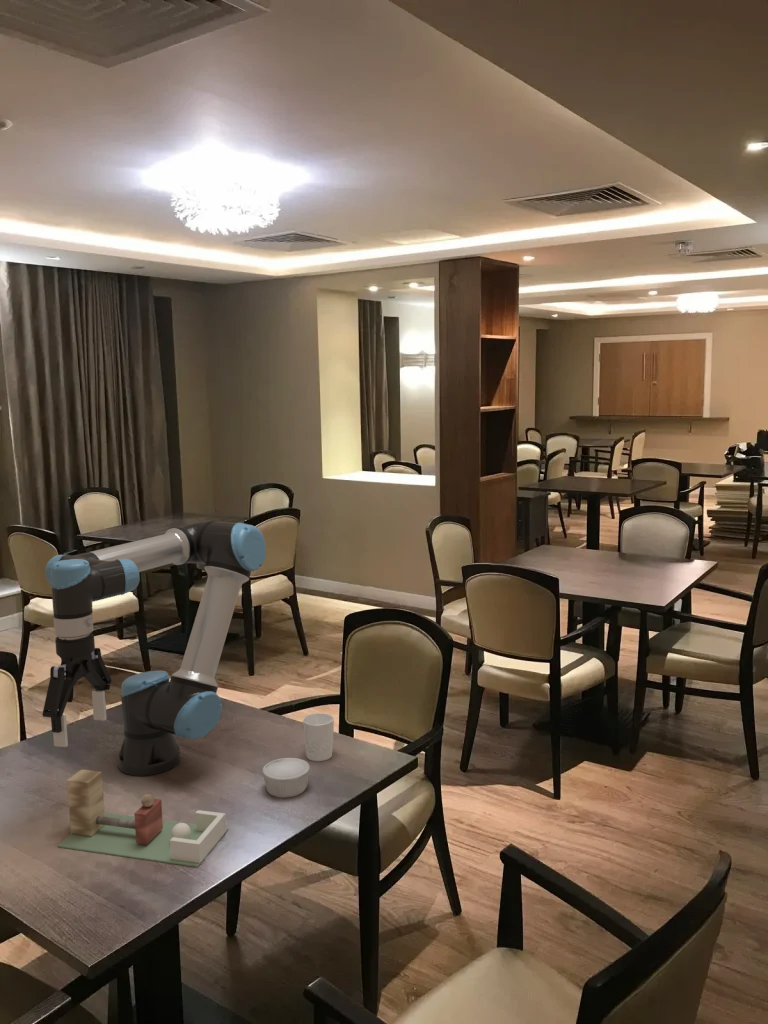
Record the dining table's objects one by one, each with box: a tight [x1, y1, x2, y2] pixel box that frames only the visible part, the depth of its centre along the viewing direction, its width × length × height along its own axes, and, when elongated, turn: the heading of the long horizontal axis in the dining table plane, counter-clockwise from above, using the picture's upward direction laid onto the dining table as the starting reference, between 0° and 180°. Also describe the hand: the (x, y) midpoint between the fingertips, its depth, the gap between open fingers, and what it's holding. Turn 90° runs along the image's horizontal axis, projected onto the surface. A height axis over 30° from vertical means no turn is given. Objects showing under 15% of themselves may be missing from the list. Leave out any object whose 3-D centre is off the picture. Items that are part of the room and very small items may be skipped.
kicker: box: [66, 769, 163, 845], centre depth 168 cm, size 18×6×12 cm, turn 76°
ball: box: [171, 822, 191, 839], centre depth 165 cm, size 4×4×4 cm
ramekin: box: [261, 757, 311, 799], centre depth 188 cm, size 11×11×5 cm
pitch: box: [57, 812, 229, 868], centre depth 168 cm, size 32×14×1 cm, turn 76°
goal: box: [170, 809, 227, 864], centre depth 164 cm, size 6×12×4 cm, turn 166°
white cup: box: [302, 712, 335, 762], centre depth 204 cm, size 8×8×10 cm
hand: (81, 732), depth 168 cm, fingers open, 13 cm apart
